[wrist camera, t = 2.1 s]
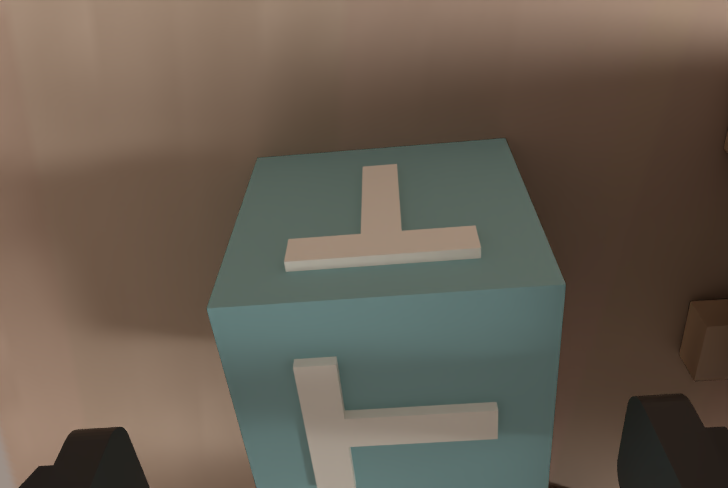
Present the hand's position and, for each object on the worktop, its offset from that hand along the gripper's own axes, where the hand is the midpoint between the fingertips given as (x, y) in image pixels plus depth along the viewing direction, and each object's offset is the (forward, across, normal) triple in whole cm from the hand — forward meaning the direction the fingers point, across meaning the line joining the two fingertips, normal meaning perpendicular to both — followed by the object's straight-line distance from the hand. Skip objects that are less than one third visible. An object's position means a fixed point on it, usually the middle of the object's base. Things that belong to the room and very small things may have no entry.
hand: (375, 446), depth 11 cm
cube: (+6, 0, 0) cm, 6 cm away
